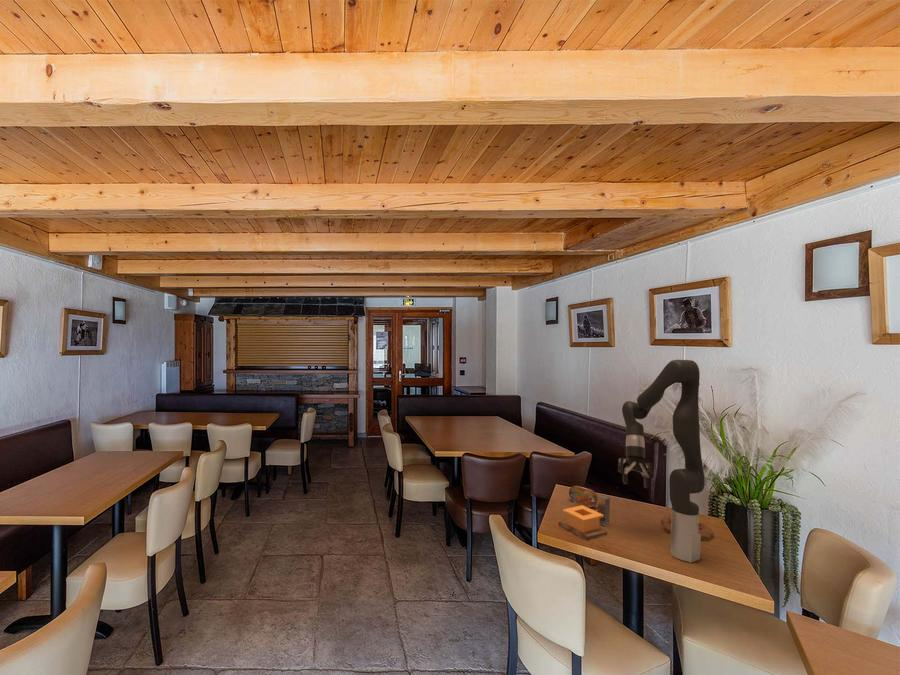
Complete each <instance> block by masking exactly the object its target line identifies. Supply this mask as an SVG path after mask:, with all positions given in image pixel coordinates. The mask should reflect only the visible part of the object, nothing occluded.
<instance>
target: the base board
mask: <svg viewBox="0 0 900 675" xmlns="http://www.w3.org/2000/svg"><path fill="white" fill-rule="evenodd" d="M566 520H567V519H565V520H560V521H559V522H558V525H559V526H560V527H562V528H563V529H565V530H567V531H569V532H571V533H573V534H575V535H576V534H577V536H578V535H579V536H578V537H580V536H581V537H580V538H582V537H583V538H582V539H584V538H585V539H584V540H586V539H587V540H586V541H589V540H588V539H590V540H592V538H593V539H596V538H595V537H597V538H600V537H603V535H604V536H607V535H608V530H606V529H604V528H602V527H600V526H599V529H596V530H592V531H588V532H585V533H583V532H581V531H579V530H577V529H575V528H573V527H571V526H569V525H567V524H566ZM599 536H600V537H599Z"/></svg>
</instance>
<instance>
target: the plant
mask: <svg viewBox="0 0 900 675" xmlns="http://www.w3.org/2000/svg"><path fill="white" fill-rule="evenodd" d="M660 525H662V527H663V531H664V532H665V531H666V532H665V533H666V534H668V535H670V534H671V516H663V517H661V518H660ZM698 533H699V534H701V542H710V541H711V539H713V538H714V531H713V530H712V528H711V527H709V525H707V524H706V523H704V522H701V521H700V520H699V528H698Z"/></svg>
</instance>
